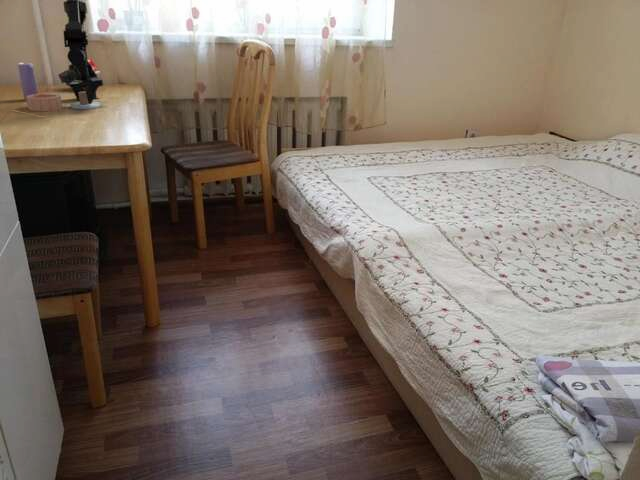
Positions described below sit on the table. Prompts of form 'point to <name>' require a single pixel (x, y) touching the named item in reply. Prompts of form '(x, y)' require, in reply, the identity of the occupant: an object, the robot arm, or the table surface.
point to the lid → (84, 103)
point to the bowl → (44, 102)
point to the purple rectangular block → (28, 79)
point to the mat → (82, 110)
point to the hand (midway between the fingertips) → (85, 102)
